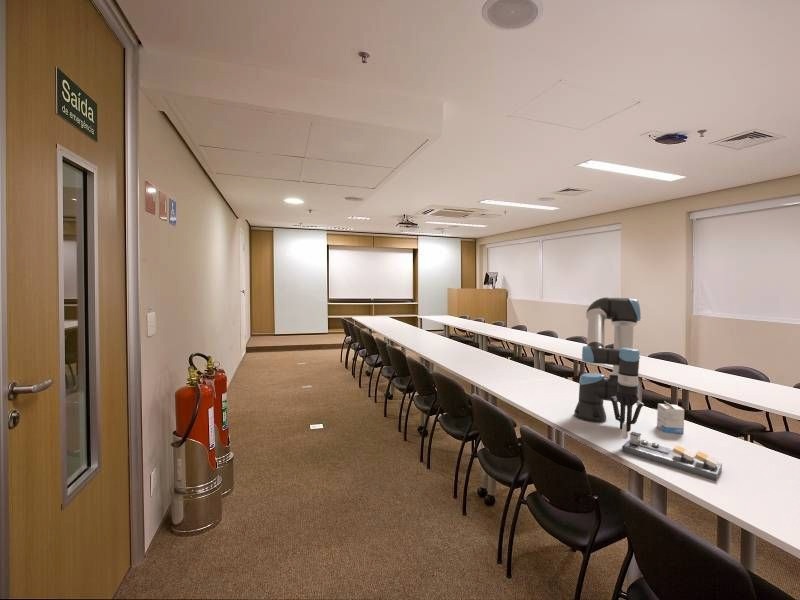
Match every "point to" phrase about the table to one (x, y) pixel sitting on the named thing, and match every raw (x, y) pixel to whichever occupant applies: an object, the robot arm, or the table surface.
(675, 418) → the ink box
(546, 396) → the table surface
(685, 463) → the console
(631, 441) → the slider
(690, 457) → the rocker
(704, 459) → the rocker
